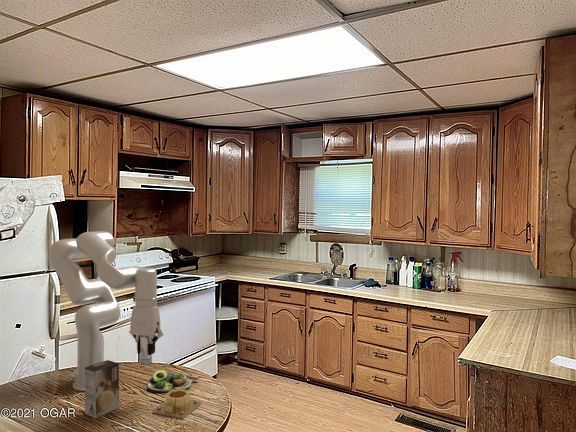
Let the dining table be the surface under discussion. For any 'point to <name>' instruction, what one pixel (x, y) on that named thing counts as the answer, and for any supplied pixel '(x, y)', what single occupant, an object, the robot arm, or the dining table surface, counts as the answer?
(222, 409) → the dining table surface
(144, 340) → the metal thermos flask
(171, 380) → the avocado toast plate
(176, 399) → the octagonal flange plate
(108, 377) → the coffee box
